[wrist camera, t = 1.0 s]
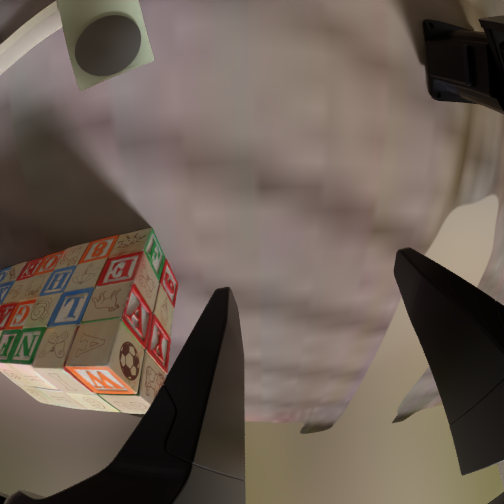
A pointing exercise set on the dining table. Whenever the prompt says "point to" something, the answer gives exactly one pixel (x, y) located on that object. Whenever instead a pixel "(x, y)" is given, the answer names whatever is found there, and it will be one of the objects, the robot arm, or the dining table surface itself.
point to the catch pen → (29, 35)
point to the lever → (104, 38)
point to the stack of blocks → (90, 324)
